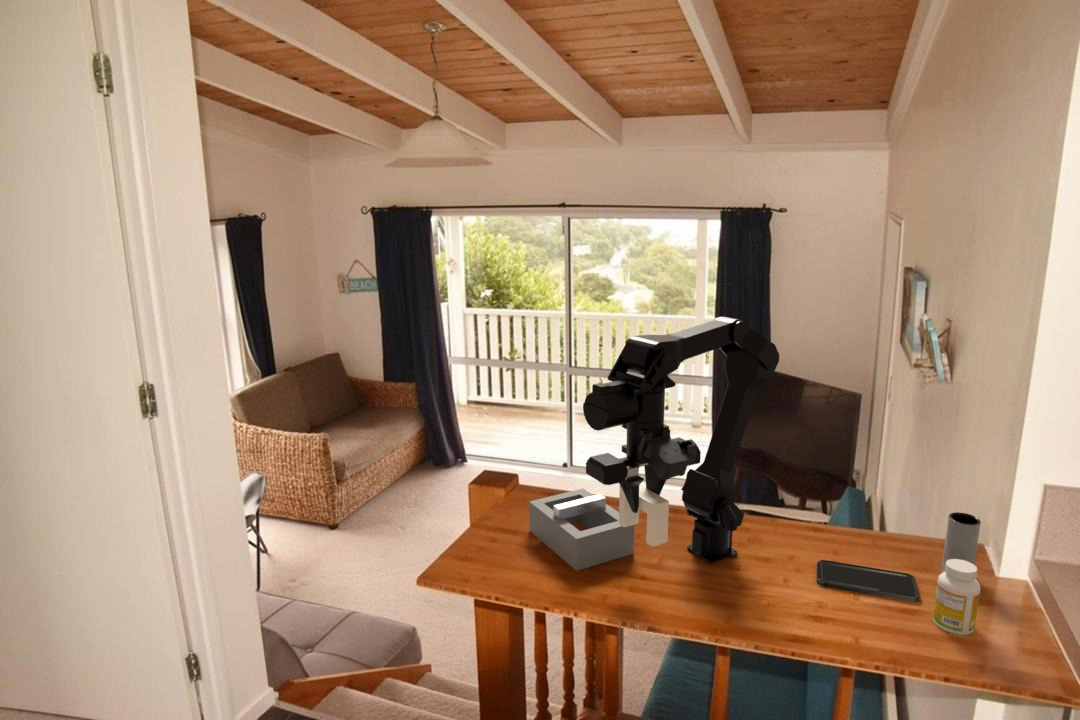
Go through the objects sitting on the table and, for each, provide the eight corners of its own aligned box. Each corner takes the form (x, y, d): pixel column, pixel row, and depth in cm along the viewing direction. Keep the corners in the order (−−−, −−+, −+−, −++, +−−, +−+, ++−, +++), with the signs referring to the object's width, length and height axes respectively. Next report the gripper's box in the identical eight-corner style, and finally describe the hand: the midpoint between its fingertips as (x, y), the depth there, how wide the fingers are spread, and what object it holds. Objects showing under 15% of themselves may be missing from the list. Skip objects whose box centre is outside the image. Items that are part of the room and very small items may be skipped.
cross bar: (599, 503, 131) (600, 493, 131) (605, 507, 130) (606, 497, 129) (553, 515, 127) (553, 505, 126) (559, 520, 125) (559, 509, 125)
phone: (817, 558, 121) (914, 574, 116) (816, 564, 122) (913, 580, 116) (817, 581, 114) (920, 599, 109) (816, 588, 114) (919, 606, 109)
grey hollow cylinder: (976, 583, 114) (985, 525, 112) (946, 580, 115) (954, 523, 113) (966, 569, 119) (974, 513, 116) (937, 566, 120) (944, 511, 117)
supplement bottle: (959, 613, 106) (968, 555, 104) (982, 635, 101) (992, 574, 99) (924, 614, 106) (932, 556, 104) (946, 636, 101) (954, 575, 99)
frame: (583, 516, 140) (583, 488, 138) (633, 553, 125) (634, 522, 124) (529, 530, 134) (529, 501, 133) (576, 571, 120) (576, 538, 118)
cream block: (633, 519, 118) (634, 481, 117) (667, 542, 111) (668, 501, 109) (618, 523, 117) (619, 484, 115) (652, 546, 109) (653, 505, 108)
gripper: (626, 443, 98) (624, 545, 102) (727, 422, 107) (722, 516, 110) (584, 421, 108) (583, 515, 111) (679, 403, 116) (676, 491, 120)
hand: (643, 509), depth 113 cm, fingers closed on cream block, 3 cm apart
